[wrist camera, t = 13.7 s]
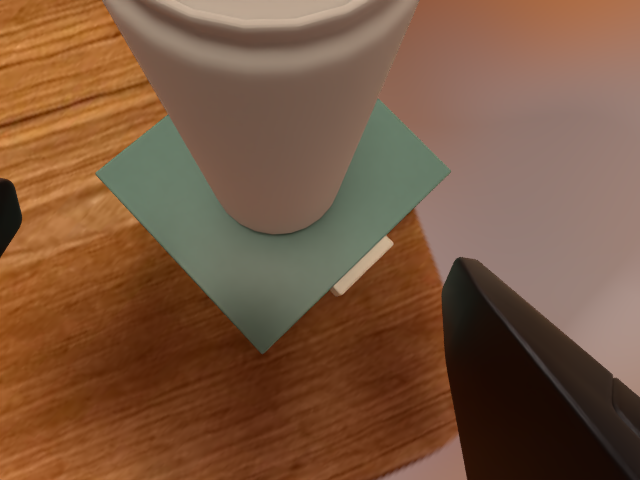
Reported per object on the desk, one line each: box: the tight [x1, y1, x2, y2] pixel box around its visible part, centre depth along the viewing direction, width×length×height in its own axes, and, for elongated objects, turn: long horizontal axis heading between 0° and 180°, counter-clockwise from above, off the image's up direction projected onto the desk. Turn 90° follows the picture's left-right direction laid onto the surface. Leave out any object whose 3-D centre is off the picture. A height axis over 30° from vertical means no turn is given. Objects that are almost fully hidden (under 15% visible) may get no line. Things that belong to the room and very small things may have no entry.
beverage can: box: [102, 0, 419, 234], centre depth 11 cm, size 5×5×12 cm
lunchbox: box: [95, 99, 451, 354], centre depth 19 cm, size 10×10×5 cm
